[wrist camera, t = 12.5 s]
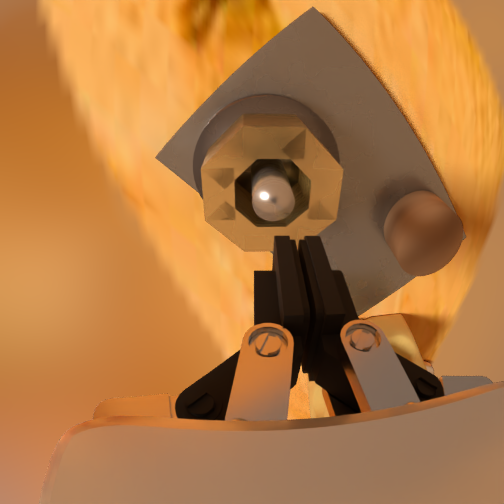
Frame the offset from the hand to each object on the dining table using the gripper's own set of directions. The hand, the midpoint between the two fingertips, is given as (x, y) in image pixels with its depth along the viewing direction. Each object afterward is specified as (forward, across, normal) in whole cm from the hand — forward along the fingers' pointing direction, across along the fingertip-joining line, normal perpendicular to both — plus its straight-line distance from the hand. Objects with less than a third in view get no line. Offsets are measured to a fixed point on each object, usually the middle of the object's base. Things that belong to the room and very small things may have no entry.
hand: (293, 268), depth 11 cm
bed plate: (+11, -5, +2) cm, 13 cm away
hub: (+11, +1, -1) cm, 11 cm away
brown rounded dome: (+12, -12, +4) cm, 17 cm away
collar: (+8, +1, -1) cm, 9 cm away
